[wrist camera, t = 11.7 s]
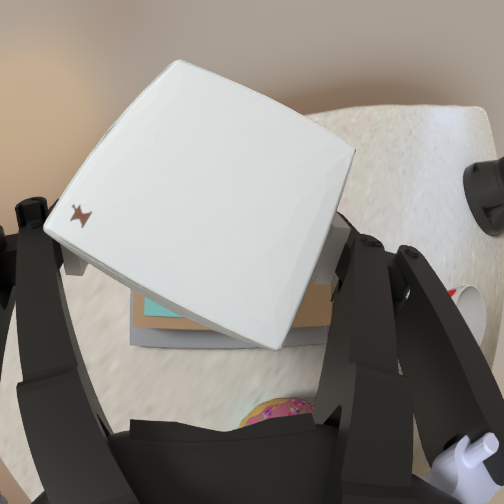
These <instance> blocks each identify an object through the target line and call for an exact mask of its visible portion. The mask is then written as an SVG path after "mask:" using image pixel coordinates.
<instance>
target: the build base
mask: <svg viewBox="0 0 504 504" xmlns="http://www.w3.org/2000/svg"><path fill="white" fill-rule="evenodd" d="M330 300H331V284H315V283H314V282H313V280H312V278H311V281H310V283H309V286H308V288H307V291H306V293H305V296H304V298H303V301H302V303H301V305H300V308H299V310H298V312H297V315H296V317H295V320H294V322H293V324H292V326H291V329H290V331H289V333H288V335H287V338H286V340H285V342H284V344H283V346H297V345H311V344H323V343H327V326H329V325H330V322H331V316H332V301H330ZM130 345H134V346H150V347H172V348H258V347H260V346H256V345H253V344H250V343H247V342H244V341H241V340H238V339H235V338H233V337H230V336H228V335H225V334H223V333H220V332H217V331H214V330H212V329H209V328H207V327H205V326H202V325H200V324H198V323H195V322H193V321H191V320H189V319H187V318H185V317H182V316H180V315H178V314H176V313H174V312H172V311H170V310H168V309H167V308H165V307H163V306H161V305H159V304H157V303H155V302H153V301H152V300H150V299H148V298H146V297H144V296H143V295H141V294H139V293H137V292H136V291H134V290H132V289H131V293H130Z"/></svg>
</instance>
